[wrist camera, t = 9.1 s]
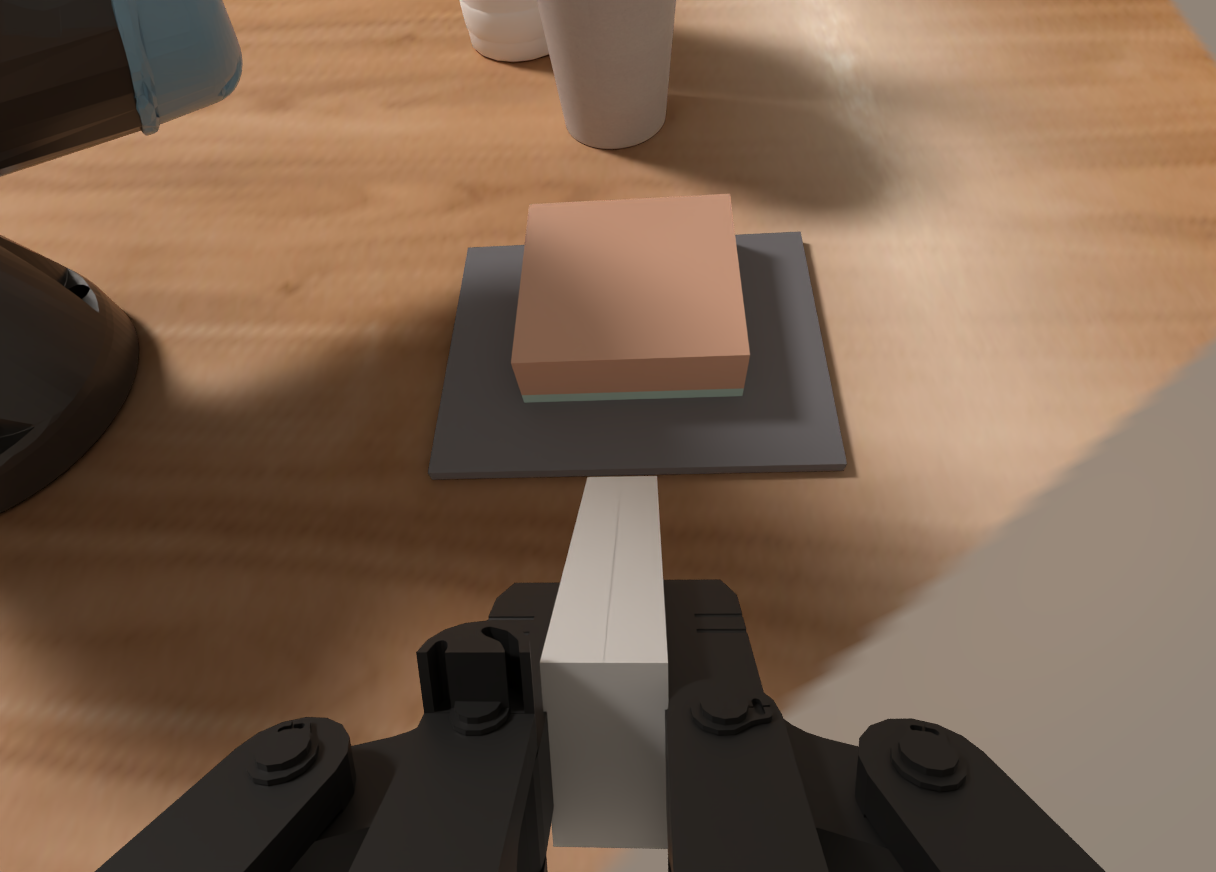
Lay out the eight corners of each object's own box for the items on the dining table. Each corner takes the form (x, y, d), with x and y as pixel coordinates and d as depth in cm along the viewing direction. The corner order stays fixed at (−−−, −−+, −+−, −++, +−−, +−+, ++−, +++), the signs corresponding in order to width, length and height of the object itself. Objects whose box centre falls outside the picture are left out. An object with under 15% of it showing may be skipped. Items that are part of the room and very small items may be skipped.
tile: (511, 363, 27) (529, 204, 32) (524, 402, 30) (539, 249, 35) (750, 355, 26) (730, 193, 31) (742, 396, 29) (724, 240, 34)
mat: (431, 479, 29) (427, 473, 28) (471, 255, 36) (468, 247, 35) (843, 470, 27) (847, 463, 27) (798, 240, 34) (800, 231, 34)
